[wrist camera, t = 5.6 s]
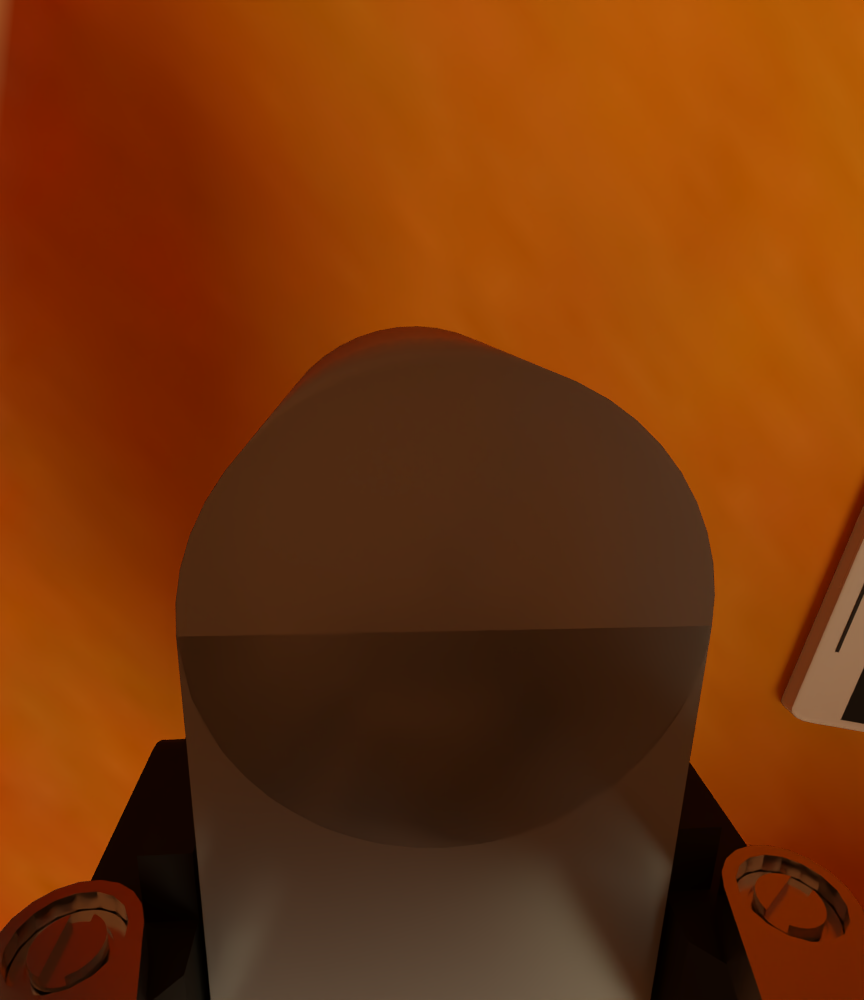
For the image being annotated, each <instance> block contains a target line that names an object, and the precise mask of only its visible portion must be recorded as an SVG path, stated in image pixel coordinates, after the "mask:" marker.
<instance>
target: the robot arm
mask: <svg viewBox="0 0 864 1000" xmlns="http://www.w3.org/2000/svg"><path fill="white" fill-rule="evenodd" d="M0 1000H211V996H210V986H209V975H208V965H207V954H206V944H205V933H204V923H203V912H202V902H201V891H200V881H199V870H198V860H197V849H196V839H195V828H194V818H193V807H192V797H191V786H190V776H189V765H188V755H187V744H186V738H185V739H176V740H161V741H159V742H157V744H156V746H155V747H154V749H153V751H152V753H151V755H150V757H149V759H148V761H147V763H146V766H145V768H144V770H143V772H142V774H141V776H140V778H139V780H138V782H137V785H136V787H135V789H134V791H133V793H132V795H131V797H130V799H129V801H128V803H127V806H126V808H125V810H124V812H123V814H122V816H121V818H120V820H119V822H118V825H117V827H116V829H115V831H114V833H113V835H112V837H111V839H110V841H109V844H108V846H107V848H106V850H105V852H104V854H103V856H102V858H101V860H100V863H99V865H98V867H97V869H96V871H95V873H94V875H93V877H92V879H91V881H85V882H78V883H75V884H72V885H68V886H65V887H62V888H59V889H56V890H54V891H52V892H50V893H49V894H47V895H45V896H43V897H41V898H39V899H37V900H36V901H34V902H32V903H31V904H30V905H28V906H27V907H26V908H25V909H23V910H22V911H21V912H20V913H18V914H17V915H16V916H14V917H13V918H12V919H11V920H10V921H9V923H8V924H7V925H6V926H5V927H4V928H3V930H2V931H1V932H0ZM650 1000H864V911H863V909H862V907H861V905H860V904H859V902H858V901H857V900H856V898H855V897H854V896H853V894H852V893H851V891H850V890H849V889H848V887H847V886H846V885H845V884H843V883H842V882H841V881H840V880H839V879H838V878H837V877H836V876H835V875H833V874H832V873H831V872H830V871H829V870H827V869H825V868H824V867H822V866H821V865H819V864H818V863H816V862H814V861H813V860H811V859H809V858H807V857H805V856H802V855H800V854H798V853H795V852H793V851H790V850H787V849H783V848H778V847H774V846H769V845H750V846H747V845H746V844H745V842H744V841H743V839H742V838H741V836H740V835H739V834H738V832H737V831H736V829H735V828H734V826H733V825H732V823H731V822H730V820H729V819H728V818H727V816H726V815H725V813H724V812H723V810H722V809H721V807H720V806H719V804H718V803H717V801H716V800H715V799H714V797H713V796H712V794H711V793H710V791H709V790H708V788H707V787H706V785H705V784H704V783H703V781H702V780H701V778H700V777H699V775H698V774H697V772H696V771H695V769H694V768H693V767H692V765H691V764H690V762H689V767H688V773H687V779H686V785H685V792H684V798H683V804H682V810H681V816H680V822H679V828H678V834H677V840H676V846H675V853H674V859H673V865H672V871H671V877H670V883H669V889H668V895H667V901H666V908H665V914H664V920H663V926H662V932H661V938H660V944H659V950H658V956H657V962H656V969H655V975H654V981H653V987H652V993H651V999H650Z"/></svg>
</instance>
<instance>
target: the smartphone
mask: <svg viewBox="0 0 864 1000" xmlns="http://www.w3.org/2000/svg"><path fill="white" fill-rule="evenodd" d="M781 703H782V704H783V705H784V707H785V708H786V709H788V710H789V711H790V712H791V713H792V714H793V715H794V716H795V717H797V718H799V719H801V720H803V721H807V722H811V723H816V724H822V725H828V726H833V727H839V728H845V729H851V730H856V731H862V732H864V505H863V507H862V510H861V512H860V515H859V517H858V519H857V522H856V524H855V526H854V529H853V531H852V533H851V536H850V538H849V540H848V543H847V545H846V548H845V550H844V552H843V555H842V557H841V559H840V562H839V564H838V566H837V569H836V571H835V574H834V576H833V578H832V581H831V583H830V585H829V588H828V590H827V592H826V595H825V597H824V600H823V602H822V604H821V607H820V609H819V611H818V614H817V616H816V618H815V621H814V623H813V626H812V628H811V630H810V633H809V635H808V637H807V640H806V642H805V644H804V647H803V649H802V651H801V654H800V656H799V659H798V661H797V663H796V666H795V668H794V670H793V673H792V675H791V677H790V680H789V682H788V685H787V687H786V689H785V692H784V694H783V696H782V699H781Z"/></svg>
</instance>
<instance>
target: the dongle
mask: <svg viewBox="0 0 864 1000" xmlns="http://www.w3.org/2000/svg"><path fill="white" fill-rule="evenodd" d="M714 596H715V593H714V571H713V560H712V555H711V549H710V544H709V539H708V534H707V530H706V527H705V524H704V522H703V519H702V516H701V513H700V510H699V507H698V504H697V502H696V500H695V498H694V496H693V494H692V492H691V490H690V488H689V486H688V484H687V482H686V480H685V479H684V477H683V475H682V473H681V471H680V470H679V469H678V467H677V466H676V465H675V463H674V462H673V460H672V459H671V458H670V456H669V455H668V454H667V452H666V451H665V449H664V448H663V447H662V445H661V444H660V443H659V442H658V441H657V440H656V439H655V438H654V437H653V436H652V435H651V434H650V433H649V432H648V431H647V430H646V429H645V428H644V427H643V426H642V425H641V424H640V423H639V422H638V421H637V420H636V419H634V418H633V417H632V416H630V415H629V414H628V413H626V412H625V411H624V410H622V409H621V408H620V407H618V406H617V405H616V404H614V403H613V402H612V401H610V400H609V399H607V398H606V397H604V396H602V395H600V394H598V393H596V392H595V391H593V390H591V389H589V388H587V387H586V386H584V385H582V384H580V383H578V382H576V381H574V380H571V379H569V378H567V377H564V376H562V375H559V374H557V373H554V372H552V371H550V370H547V369H545V368H542V367H540V366H538V365H535V364H533V363H530V362H528V361H525V360H523V359H521V358H518V357H516V356H513V355H511V354H508V353H506V352H504V351H501V350H499V349H496V348H494V347H491V346H489V345H487V344H484V343H482V342H479V341H477V340H474V339H472V338H469V337H467V336H464V335H461V334H459V333H456V332H451V331H447V330H443V329H438V328H430V327H419V326H414V327H396V328H390V329H385V330H379V331H375V332H372V333H369V334H366V335H363V336H360V337H357V338H355V339H353V340H351V341H349V342H347V343H345V344H343V345H341V346H339V347H338V348H336V349H335V350H333V351H332V352H330V353H329V354H327V355H326V356H324V357H323V358H322V359H320V360H319V361H318V362H317V363H316V364H315V365H314V366H313V367H311V368H310V369H309V370H308V371H307V372H306V374H305V375H304V376H303V377H302V378H301V379H300V381H299V382H298V383H297V384H296V385H295V386H294V388H293V389H292V390H291V391H290V392H289V394H288V395H287V396H286V397H285V399H284V400H283V401H282V402H281V403H280V405H279V406H278V407H277V408H276V410H275V411H274V412H273V413H272V414H271V416H270V417H269V418H268V419H267V421H266V422H265V423H264V424H263V425H262V427H261V428H260V429H259V430H258V431H257V433H256V434H255V435H254V436H253V438H252V439H251V440H250V441H249V442H248V444H247V445H246V446H245V447H244V449H243V450H242V451H241V452H240V453H239V455H238V456H237V457H236V458H235V459H234V461H233V462H232V463H231V464H230V466H229V467H228V468H227V469H226V470H225V472H224V473H223V475H222V476H221V478H220V480H219V481H218V483H217V484H216V486H215V487H214V489H213V490H212V492H211V494H210V495H209V497H208V498H207V500H206V501H205V503H204V505H203V507H202V510H201V512H200V514H199V516H198V518H197V521H196V523H195V525H194V527H193V529H192V532H191V534H190V536H189V540H188V543H187V547H186V550H185V554H184V557H183V561H182V564H181V568H180V573H179V581H178V589H177V596H176V639H177V650H178V660H179V671H180V681H181V692H182V702H183V713H184V723H185V734H186V744H187V755H188V765H189V776H190V786H191V797H192V807H193V818H194V828H195V839H196V849H197V860H198V870H199V881H200V891H201V902H202V912H203V923H204V933H205V944H206V954H207V965H208V975H209V986H210V996H211V1000H650V999H651V993H652V987H653V981H654V975H655V969H656V962H657V956H658V950H659V944H660V938H661V932H662V926H663V920H664V914H665V908H666V901H667V895H668V889H669V883H670V877H671V871H672V865H673V859H674V853H675V846H676V840H677V834H678V828H679V822H680V816H681V810H682V804H683V798H684V792H685V785H686V779H687V773H688V767H689V761H690V755H691V749H692V743H693V737H694V731H695V724H696V718H697V712H698V706H699V700H700V694H701V688H702V682H703V676H704V670H705V663H706V657H707V651H708V645H709V639H710V633H711V627H712V617H713V606H714Z"/></svg>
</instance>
